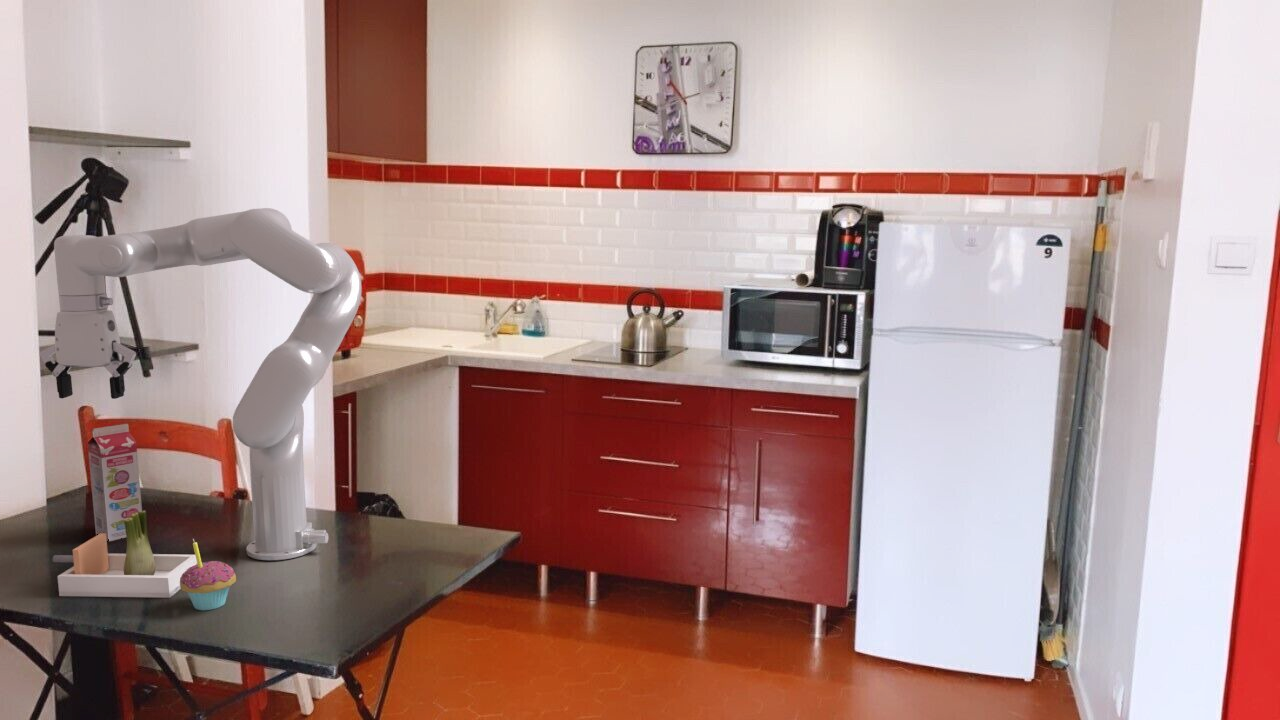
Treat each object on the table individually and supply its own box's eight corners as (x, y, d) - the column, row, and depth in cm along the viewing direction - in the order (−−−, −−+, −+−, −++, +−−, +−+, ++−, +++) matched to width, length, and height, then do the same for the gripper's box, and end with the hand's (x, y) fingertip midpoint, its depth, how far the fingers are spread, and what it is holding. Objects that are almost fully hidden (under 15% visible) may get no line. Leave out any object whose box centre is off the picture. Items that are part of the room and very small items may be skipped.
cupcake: (202, 619, 163) (197, 547, 161) (170, 607, 167) (164, 538, 165) (248, 601, 170) (243, 532, 168) (216, 590, 174) (211, 523, 172)
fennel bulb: (147, 572, 181) (141, 507, 179) (165, 577, 178) (159, 511, 176) (116, 582, 176) (110, 516, 174) (134, 588, 173) (128, 520, 171)
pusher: (109, 568, 181) (105, 533, 180) (81, 587, 173) (78, 550, 172) (70, 568, 182) (67, 532, 180) (41, 586, 173) (37, 549, 172)
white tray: (200, 573, 182) (198, 554, 182) (169, 597, 171) (168, 577, 171) (96, 571, 183) (94, 553, 182) (59, 595, 172) (57, 576, 171)
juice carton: (96, 533, 203) (86, 426, 200) (130, 525, 208) (121, 420, 204) (108, 541, 199) (98, 431, 195) (143, 533, 204) (134, 426, 200)
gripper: (141, 302, 187) (148, 393, 190) (49, 301, 188) (58, 392, 190) (119, 306, 180) (127, 401, 182) (23, 306, 180) (32, 401, 183)
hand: (91, 397), depth 186 cm, fingers open, 9 cm apart
